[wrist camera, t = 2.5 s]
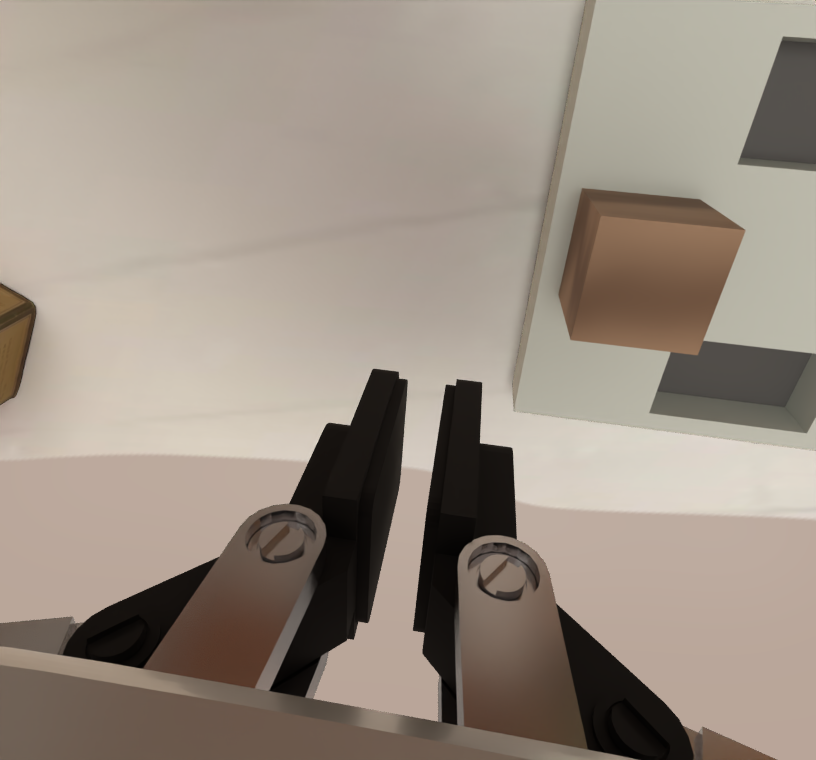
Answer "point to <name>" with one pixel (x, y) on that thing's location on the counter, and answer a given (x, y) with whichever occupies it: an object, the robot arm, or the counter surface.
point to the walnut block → (646, 270)
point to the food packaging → (13, 340)
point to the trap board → (698, 179)
